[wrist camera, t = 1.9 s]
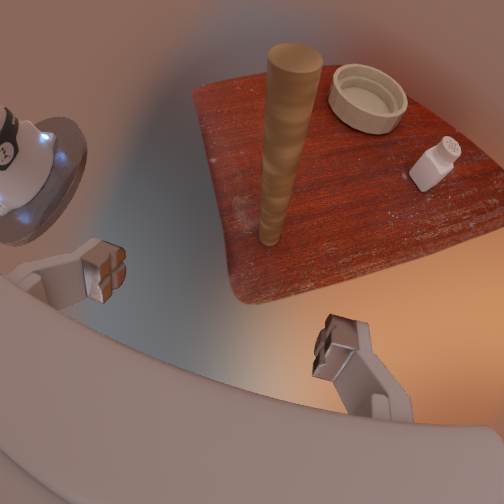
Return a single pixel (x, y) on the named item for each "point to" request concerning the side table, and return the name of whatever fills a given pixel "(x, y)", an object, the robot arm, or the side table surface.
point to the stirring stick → (285, 129)
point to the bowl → (366, 98)
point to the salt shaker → (435, 164)
